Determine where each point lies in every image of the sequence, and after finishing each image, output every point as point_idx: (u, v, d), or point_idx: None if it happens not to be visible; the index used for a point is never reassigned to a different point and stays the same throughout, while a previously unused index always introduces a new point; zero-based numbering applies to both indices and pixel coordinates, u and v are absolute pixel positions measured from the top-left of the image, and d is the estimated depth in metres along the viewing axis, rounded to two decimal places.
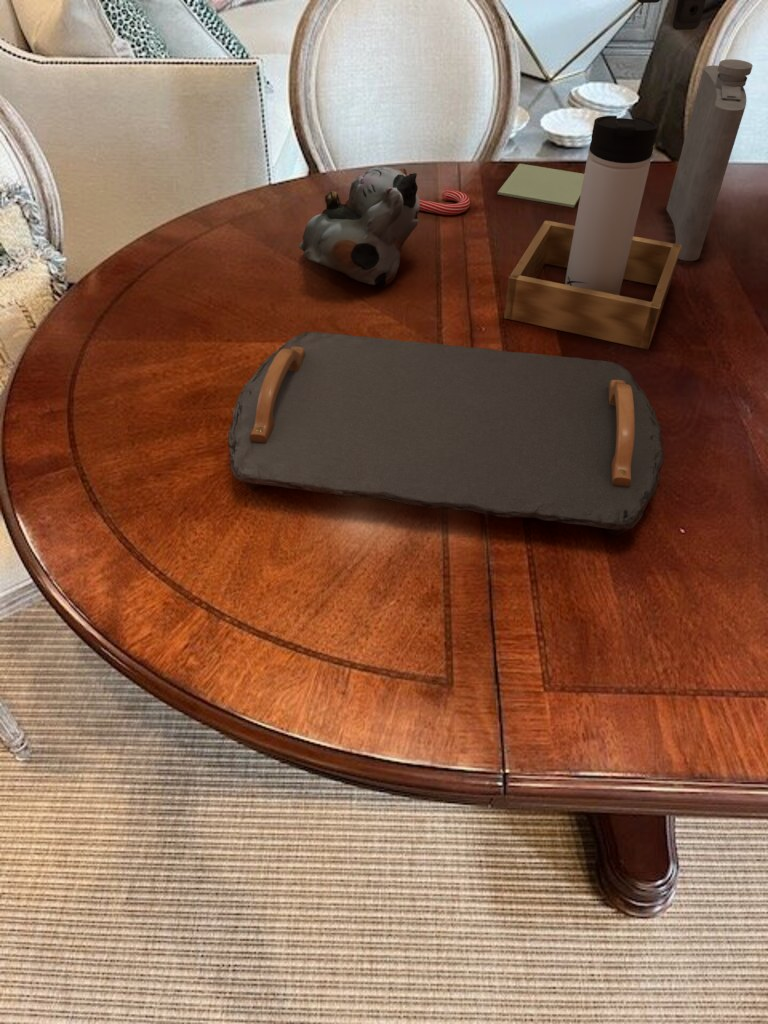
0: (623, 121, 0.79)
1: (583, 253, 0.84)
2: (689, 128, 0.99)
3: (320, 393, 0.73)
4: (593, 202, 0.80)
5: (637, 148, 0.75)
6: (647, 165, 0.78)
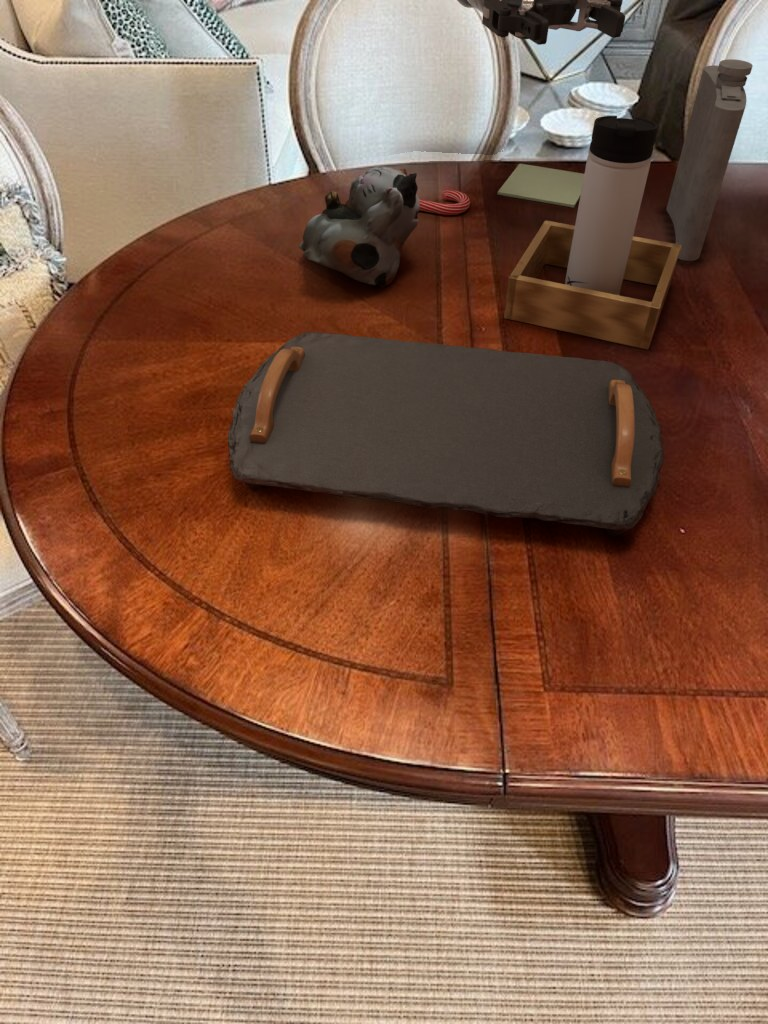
0: (623, 121, 0.79)
1: (583, 253, 0.84)
2: (689, 128, 0.99)
3: (320, 393, 0.73)
4: (593, 202, 0.80)
5: (637, 148, 0.75)
6: (647, 165, 0.78)
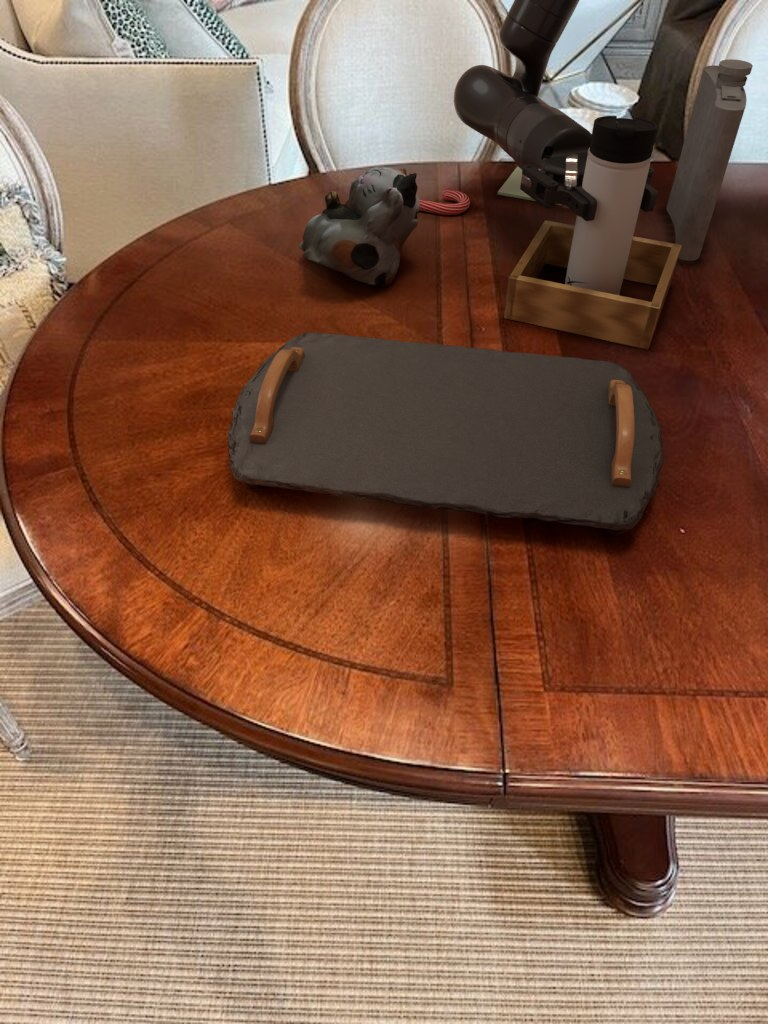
0: (623, 121, 0.78)
1: (583, 253, 0.84)
2: (689, 128, 0.99)
3: (320, 394, 0.73)
4: None
5: (637, 149, 0.75)
6: (647, 165, 0.78)
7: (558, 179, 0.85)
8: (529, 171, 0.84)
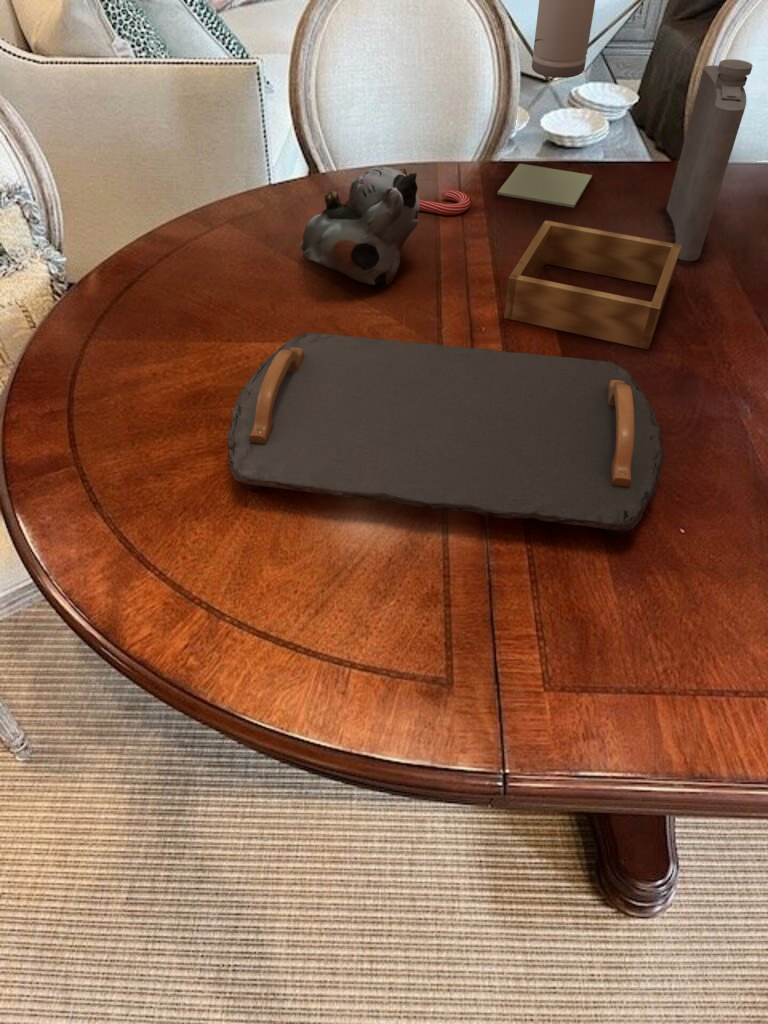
0: None
1: (541, 6, 0.88)
2: (689, 128, 0.99)
3: (319, 394, 0.73)
4: None
5: None
6: None
7: None
8: None
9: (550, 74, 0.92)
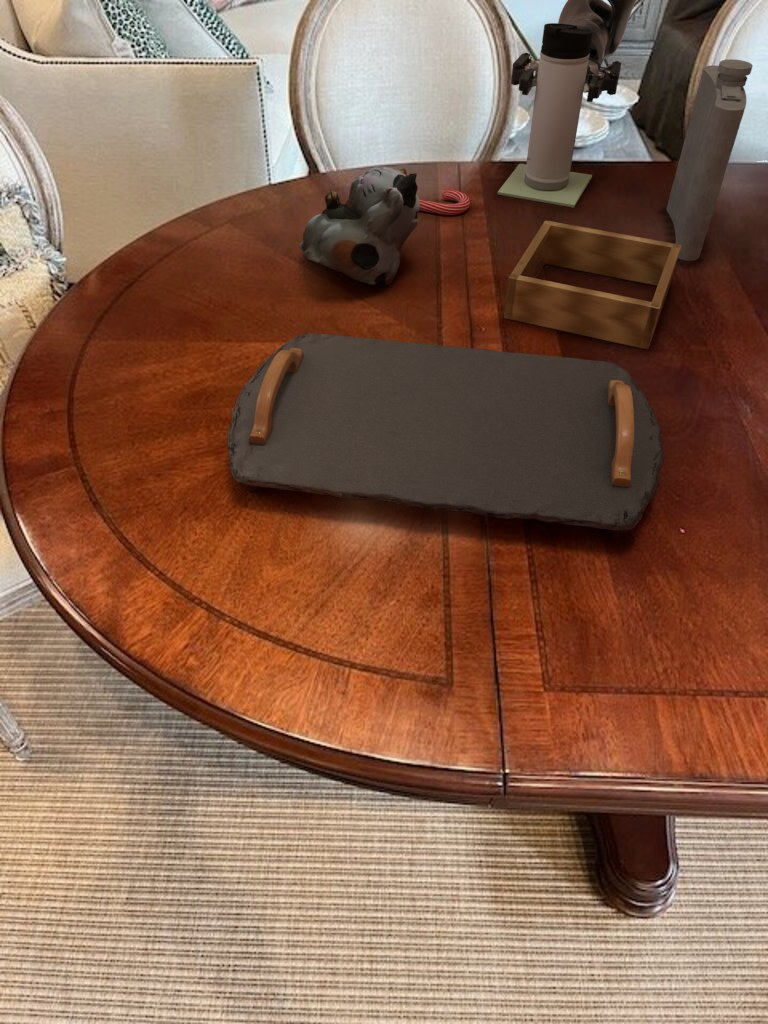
0: (578, 30, 1.00)
1: (531, 133, 1.07)
2: (689, 128, 0.99)
3: (319, 394, 0.73)
4: (536, 89, 1.03)
5: (560, 46, 0.98)
6: (575, 65, 0.99)
7: None
8: (520, 56, 1.08)
9: (536, 187, 1.10)
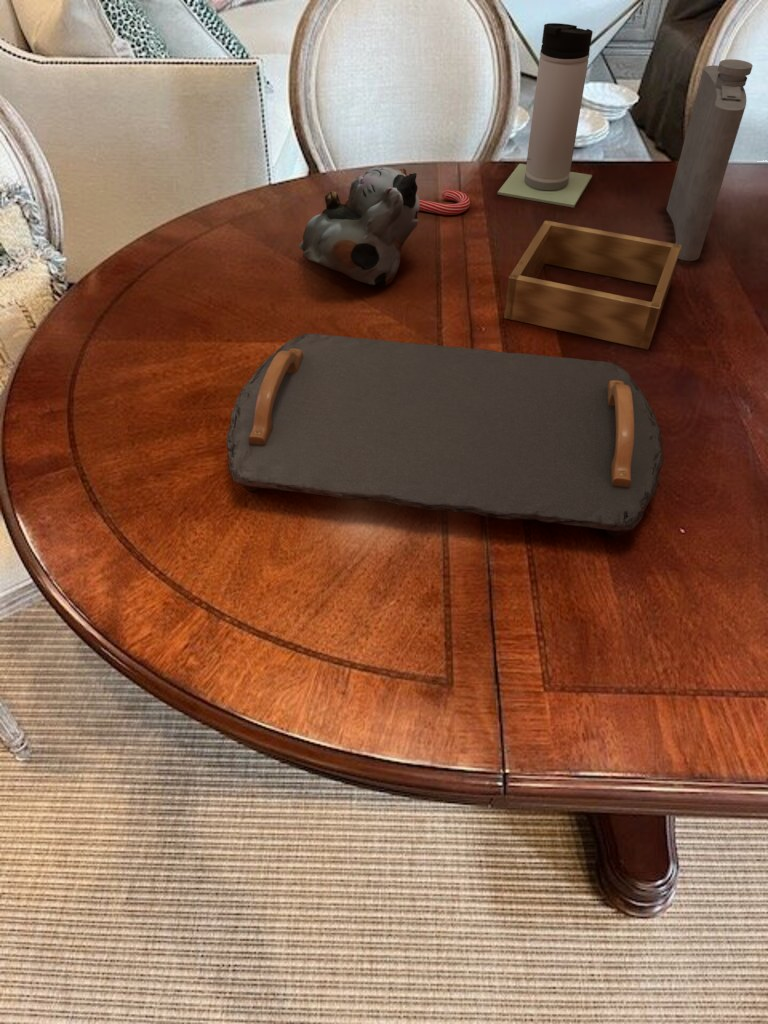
0: (578, 30, 1.00)
1: (531, 133, 1.07)
2: (689, 128, 0.99)
3: (318, 395, 0.73)
4: (536, 89, 1.03)
5: (560, 46, 0.98)
6: (574, 65, 0.99)
7: None
8: None
9: (536, 187, 1.10)
